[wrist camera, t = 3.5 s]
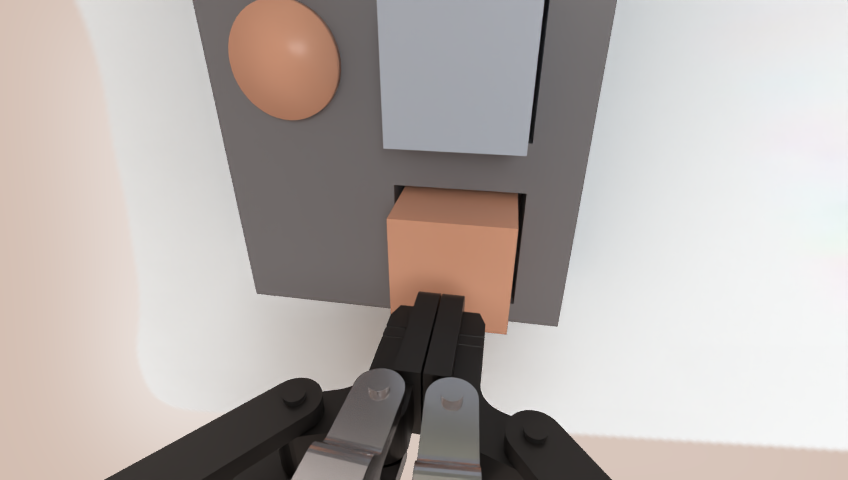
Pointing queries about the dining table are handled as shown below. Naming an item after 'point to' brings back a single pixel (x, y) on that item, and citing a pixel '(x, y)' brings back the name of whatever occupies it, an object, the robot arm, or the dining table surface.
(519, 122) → the blue key
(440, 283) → the terracotta key
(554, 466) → the robot arm
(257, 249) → the key panel
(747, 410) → the dining table surface
